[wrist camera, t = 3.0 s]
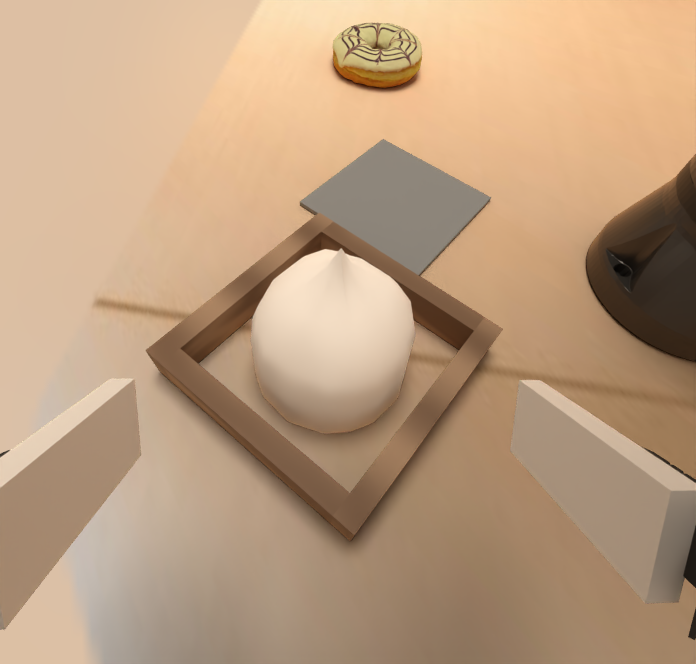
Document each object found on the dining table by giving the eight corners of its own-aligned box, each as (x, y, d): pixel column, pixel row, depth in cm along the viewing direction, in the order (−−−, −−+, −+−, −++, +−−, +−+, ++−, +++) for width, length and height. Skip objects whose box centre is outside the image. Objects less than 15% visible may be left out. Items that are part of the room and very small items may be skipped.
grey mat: (382, 142, 45) (383, 139, 45) (489, 200, 42) (491, 197, 41) (299, 205, 39) (299, 201, 39) (416, 279, 36) (417, 276, 35)
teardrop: (358, 466, 27) (387, 391, 17) (222, 381, 30) (176, 271, 20) (430, 341, 33) (484, 228, 23) (309, 278, 35) (309, 149, 25)
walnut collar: (318, 238, 37) (319, 212, 35) (487, 349, 33) (502, 328, 30) (159, 371, 30) (145, 350, 27) (350, 541, 25) (354, 535, 22)
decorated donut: (334, 45, 56) (336, 11, 53) (416, 53, 56) (422, 20, 53) (329, 88, 50) (330, 53, 47) (419, 97, 51) (427, 63, 47)
